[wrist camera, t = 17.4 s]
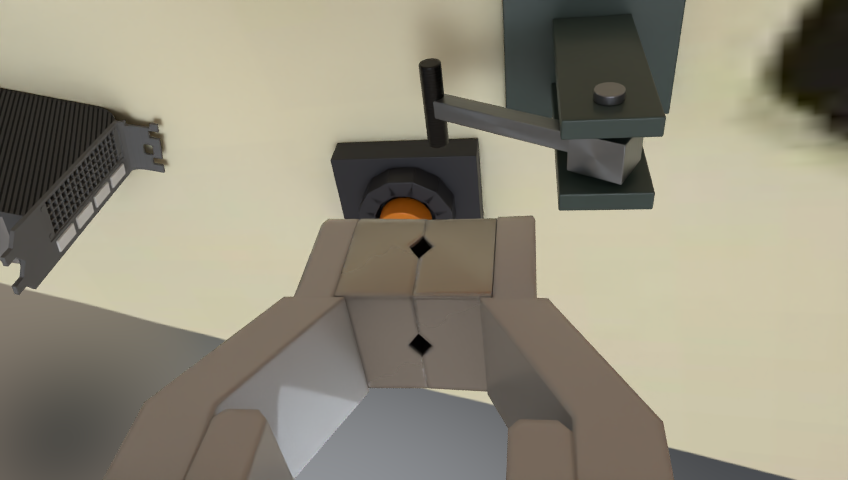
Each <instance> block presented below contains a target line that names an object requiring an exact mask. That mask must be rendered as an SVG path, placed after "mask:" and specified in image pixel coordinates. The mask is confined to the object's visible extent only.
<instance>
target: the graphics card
mask: <svg viewBox="0 0 848 480" xmlns="http://www.w3.org/2000/svg"><path fill="white" fill-rule="evenodd" d="M149 126H150V127H146V126H140V125H129V124H126V121H125V120H122V121H116V120H115V118H114V116H113V115H112V114H111V113H110V112H109V111H108V110H106V109H104V108H100V107H96V106H90V105H86V104H81V103H76V102H75V103H74V102H71V101H70V102H69V101H64V100H58V99H54V98H49V97H44V96H43V97H42V96H39V95H38V96H37V95H32V94H27V93H22V92H17V91H12V90H8V89H6V90H5V89H2V88H1V89H0V260H1V261H2V263H3V266H9V265H10V264H11V263H19V264H20V265H21V269H20V277H19V278H18V279H17V281H16V282H15V283H14V284H13V285H12V288H13V291H14V293H15V294H18V295H20V293H21V292H22V291H23V290H24V289H25V287H26V286H27V287H30V288H32V289H36V288H37V287H38V286H39V285H40V283H41V282H42V281H43V280H44V278H45V277H46V276H47V275H48V273H49V272H50V271H51V270H52V268H53V267H54V266H55V265H56V264H57V262H58V261H59V260H60V259H61V257H62V256H63V255H64V254H65V252H66V251H67V250H68V249H69V247H70V246H71V245H72V244H73V243H74V241H75V240H76V239H77V238H78V236H79V235H80V234H81V233H82V231H83V230H84V229H85V228H86V226H87V225H88V224H89V223H90V222H91V220H92V219H93V218H94V217H95V215H96V214H97V213H98V212H99V210H100V209H101V208H102V207H103V206H104V204H105V203H106V202H107V201H108V199H109V198H110V197H111V196H112V194H113V193H114V192H115V191H116V189H117V188H118V187H119V186H120V185H121V183H122V182H123V181H124V180H125V178H126V177H127V176H128V175H129V174H130V172H131V171H132V170H135V169H145V170H152V171H157V172H163V173H164V172H165V168H164V165H163V164H158V163H155V162H154V158H159V159H162V158H163V155H162V149H161V142H160V138H155V137H151V136H150V134H149V131H153V132H159V129H158V124H155V123H150V124H149ZM144 144H148V145H152V147H153V152H154V154H150V153H146V152H145V149H144Z"/></svg>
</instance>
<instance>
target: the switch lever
mask: <svg viewBox="0 0 848 480" xmlns="http://www.w3.org/2000/svg"><path fill="white" fill-rule="evenodd" d="M419 73H420V81H421V89H422V97H423V105H424V113H425V121H426V129H427V137H428V144H429V146H430V147H432V148H442V147H445V146H446V145H447V144H448V143H449V138H448V128H447V122H451V123H455V124H459V125H463V126H467V127H471V128H475V129H479V130H483V131H486V132H490V133H494V134H498V135H502V136H506V137H510V138H514V139H518V140H522V141H526V142H530V143H534V144H538V145H542V146H545V147H549V148H553V149H557V150H561V151H565V152H567V170H568V171H571V172H575V173H579V174H582V175H586V176H590V177H594V178H597V179H601V180H605V181H608V182H612V183H616V184H619V185H622V183H623V182H624V181H625V179H626V178H627V177H628V176H629V174H630V173H631V172H632V170H633V169H634V168H635V166H636V165H637V164H638V162H639V161H640V160H641V153H642V145H643V137H632V138H601V139H570V140H561V137H560V125H559V120H557V119H552V118H548V117H544V116H539V115H535V114H531V113H526V112H522V111H518V110H513V109H509V108H504V107H500V106H496V105H491V104H487V103H483V102H478V101H474V100H469V99H465V98H461V97H456V96H452V95H448V94H444V88H443V78H442V68H441V62H440V60H438V59H433V58H431V59H425V60H423V61H421V62H420V63H419Z"/></svg>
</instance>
